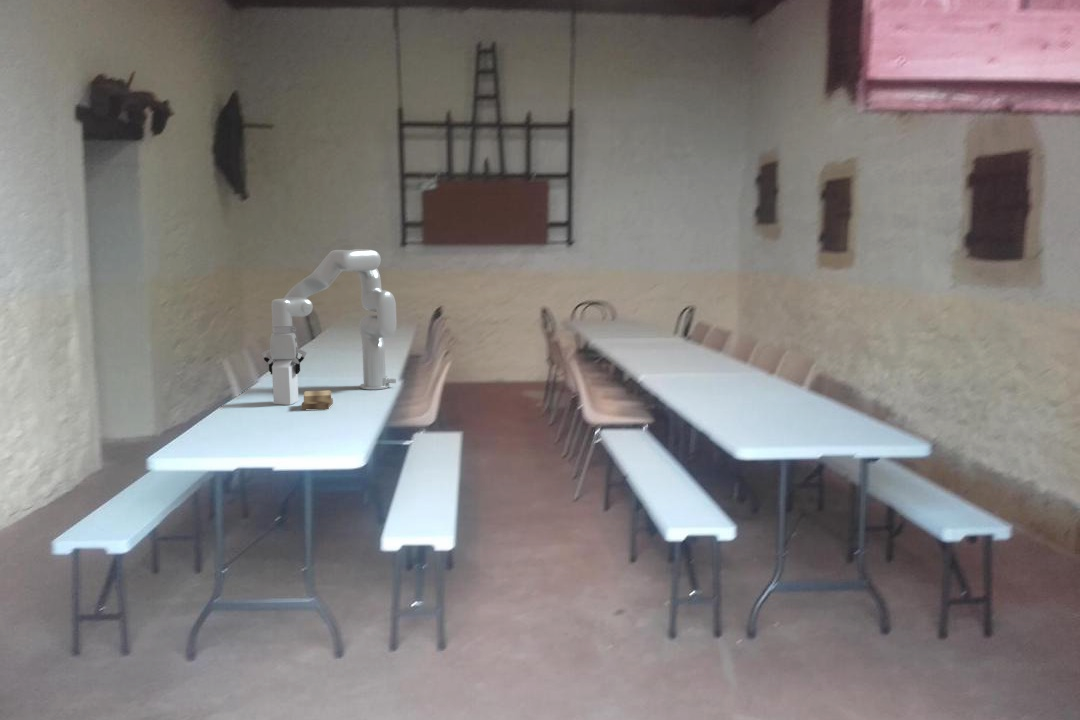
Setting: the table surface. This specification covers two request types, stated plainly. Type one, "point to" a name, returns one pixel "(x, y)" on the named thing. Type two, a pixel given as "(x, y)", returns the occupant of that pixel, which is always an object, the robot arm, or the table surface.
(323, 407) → the bottom slab
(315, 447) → the table surface
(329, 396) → the top slab
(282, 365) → the milk carton
